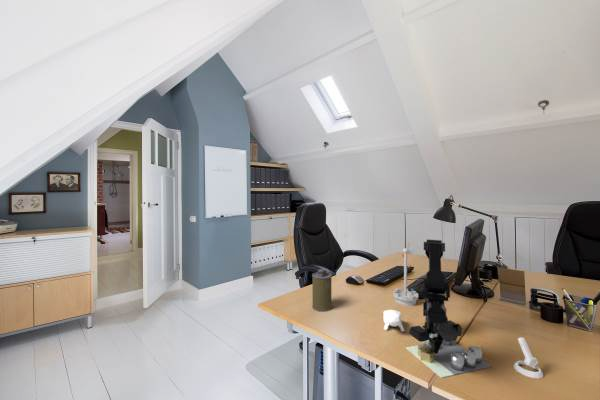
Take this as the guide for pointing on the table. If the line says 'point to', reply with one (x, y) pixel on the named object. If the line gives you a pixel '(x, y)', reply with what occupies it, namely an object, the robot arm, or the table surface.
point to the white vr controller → (527, 361)
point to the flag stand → (405, 288)
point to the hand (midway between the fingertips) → (435, 353)
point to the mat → (446, 360)
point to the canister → (322, 290)
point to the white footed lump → (392, 319)
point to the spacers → (463, 357)
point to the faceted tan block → (426, 354)
